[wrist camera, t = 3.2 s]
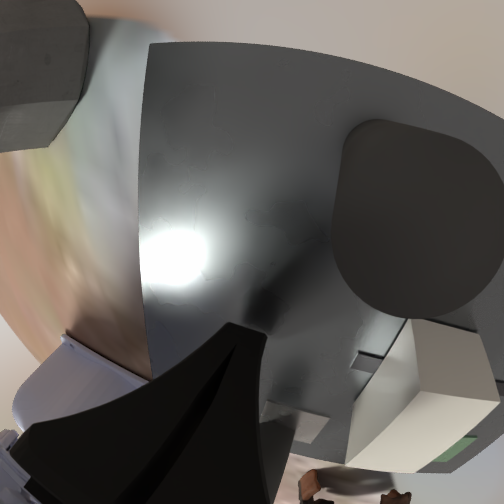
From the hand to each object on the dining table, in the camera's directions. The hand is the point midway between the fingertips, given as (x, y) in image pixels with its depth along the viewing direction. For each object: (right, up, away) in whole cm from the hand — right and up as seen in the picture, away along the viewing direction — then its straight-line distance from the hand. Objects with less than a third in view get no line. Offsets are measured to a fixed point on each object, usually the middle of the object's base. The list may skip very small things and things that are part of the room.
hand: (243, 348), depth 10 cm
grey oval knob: (+2, -6, +4) cm, 7 cm away
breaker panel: (+6, 0, +2) cm, 6 cm away
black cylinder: (+4, +5, -3) cm, 7 cm away
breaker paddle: (+6, -1, 0) cm, 6 cm away
